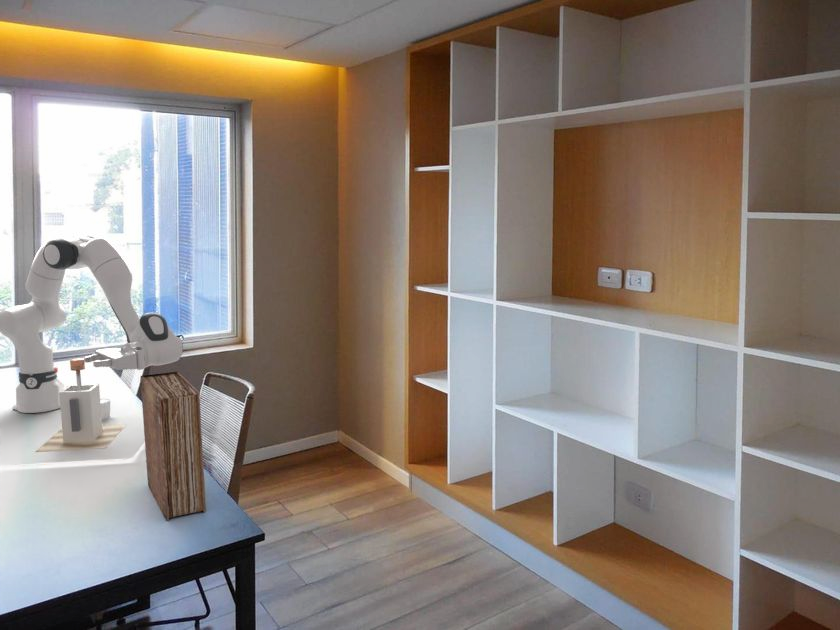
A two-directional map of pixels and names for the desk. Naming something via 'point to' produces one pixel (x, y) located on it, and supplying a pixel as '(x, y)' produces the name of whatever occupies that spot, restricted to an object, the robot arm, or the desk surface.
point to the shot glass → (105, 408)
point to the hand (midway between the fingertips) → (89, 362)
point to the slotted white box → (80, 413)
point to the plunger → (77, 370)
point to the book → (173, 443)
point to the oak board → (99, 443)
